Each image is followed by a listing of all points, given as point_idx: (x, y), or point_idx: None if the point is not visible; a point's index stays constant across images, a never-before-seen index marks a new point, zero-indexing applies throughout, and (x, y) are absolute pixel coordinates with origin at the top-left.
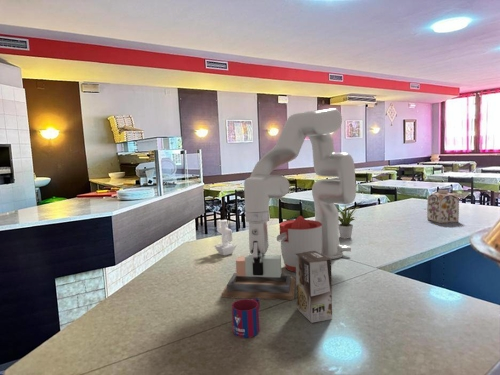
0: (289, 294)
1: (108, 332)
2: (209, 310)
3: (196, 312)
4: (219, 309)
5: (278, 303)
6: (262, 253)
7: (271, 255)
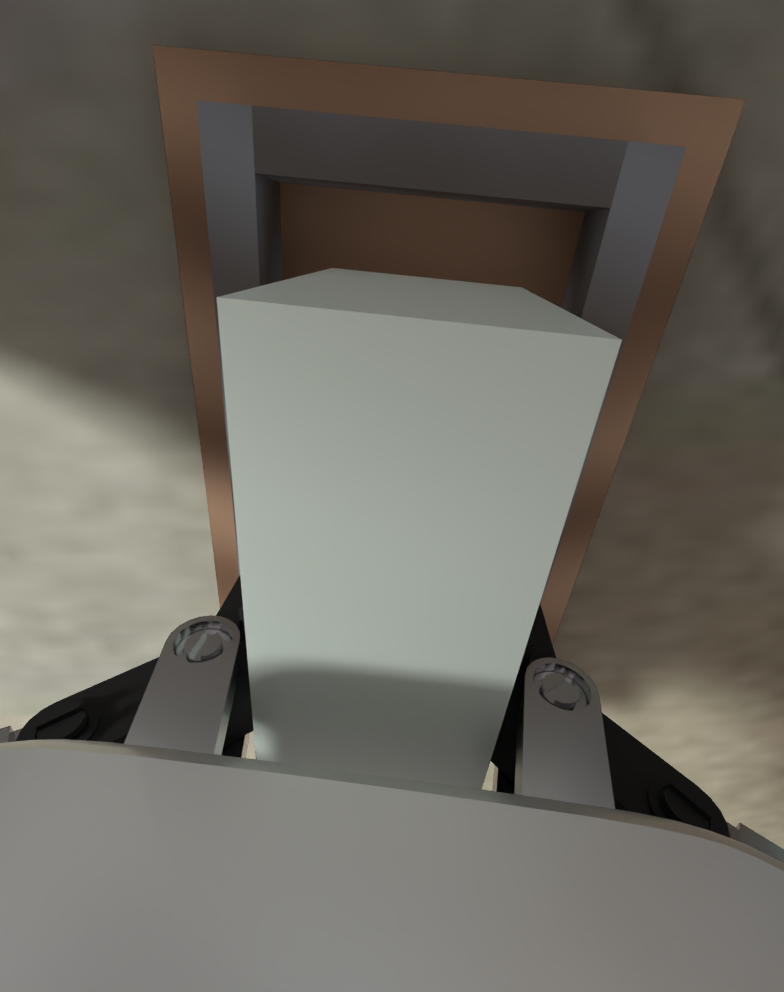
0: (688, 156)
1: None
2: (699, 728)
3: (702, 772)
4: (704, 689)
5: (751, 298)
6: (227, 712)
7: (300, 550)
